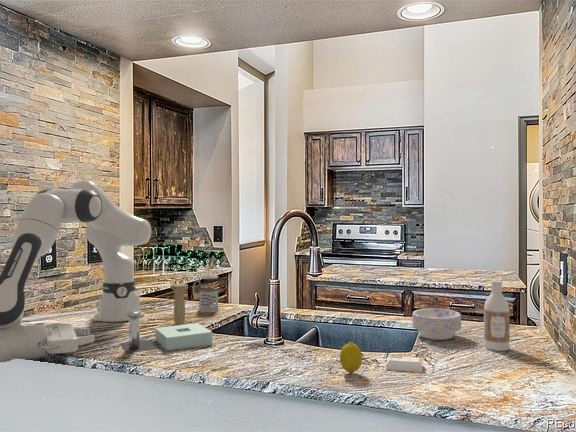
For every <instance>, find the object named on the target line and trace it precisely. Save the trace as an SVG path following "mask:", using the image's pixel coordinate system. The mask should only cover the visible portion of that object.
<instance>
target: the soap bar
mask: <svg viewBox="0 0 576 432" xmlns="http://www.w3.org/2000/svg"><path fill="white" fill-rule="evenodd" d="M385 364H386V365H385V366H386V370H391V371H392V370H393V371H401V372H402V371H406V372H417V373H418V372H419V373H423V360H422V359H421V358H420V357H410V356H395V355H390V356H389V357H387V359H386V363H385Z"/></svg>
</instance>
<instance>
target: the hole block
mask: <svg viewBox="0 0 576 432" xmlns="http://www.w3.org/2000/svg"><path fill="white" fill-rule="evenodd" d="M154 329H155V334H154V335H155V336H154V337H155V341H156V342H157V343H159V345H160V346H162V347H163V348H164V349H165V350H166V351H173V350H174V351H175V350H180V349H186V348H187V349H188V348H194V347H201V346H213V331H211V330H210V329H208V328H207V327H206V326H204V325H201V324H200V323H199V322H195V323H187V324H185V323H184V325H177V326H175V325H169V326H162V327H155V328H154Z"/></svg>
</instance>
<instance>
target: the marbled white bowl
mask: <svg viewBox="0 0 576 432" xmlns="http://www.w3.org/2000/svg"><path fill="white" fill-rule="evenodd" d="M411 314H412V316H411V317H412V319H411V322H412V328H413V329H415V330H417V331H418V333H419V335H420V336H421V337H422V338H424V339H427V340H433V341H446V340H450V339H452V338H454V336H455V334H456V332H459V331H461V329H462V314H461V313H460V311H459V312H458V311H455V310H453V309H447V308H422V309H421V308H420V309H416V310H414V311H412V313H411Z"/></svg>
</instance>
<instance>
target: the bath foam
mask: <svg viewBox="0 0 576 432" xmlns="http://www.w3.org/2000/svg"><path fill="white" fill-rule="evenodd" d="M490 282H491V283H490V284H491V285H490V287H491V288H490V289H491V292H490V295H488V297H487V298H486V299H485V302H484V306H483V307H484V308H483V340H484V341H483V343H484V344H483V345H484V348H486V349H487V350H490V351H494V352H495V351H496V352H505V351H508V350H510V341H511V340H510V306H509V302H508V300H507V299H506V297H505V296H504V295H503V281H502V280H497V279H496V280H495V279H494V280H491V281H490Z"/></svg>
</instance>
